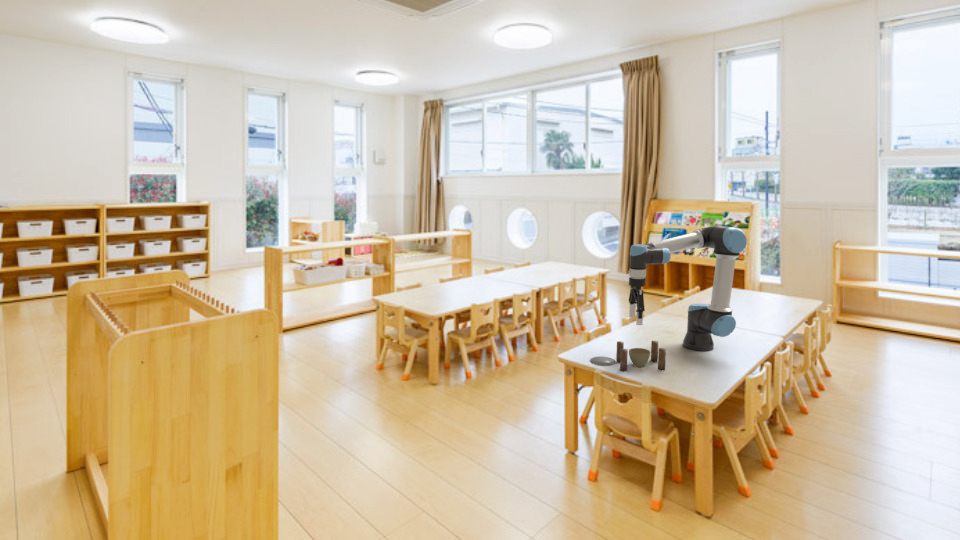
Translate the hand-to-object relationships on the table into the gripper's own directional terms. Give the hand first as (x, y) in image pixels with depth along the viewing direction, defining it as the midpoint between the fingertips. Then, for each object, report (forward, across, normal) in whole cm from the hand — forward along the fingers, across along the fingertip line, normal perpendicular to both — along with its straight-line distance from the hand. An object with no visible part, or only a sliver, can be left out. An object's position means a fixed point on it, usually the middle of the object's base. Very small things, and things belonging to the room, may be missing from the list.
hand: (635, 321), depth 250 cm
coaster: (+22, -3, -14) cm, 26 cm away
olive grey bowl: (+22, +2, +2) cm, 22 cm away
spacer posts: (+22, +2, +2) cm, 22 cm away
